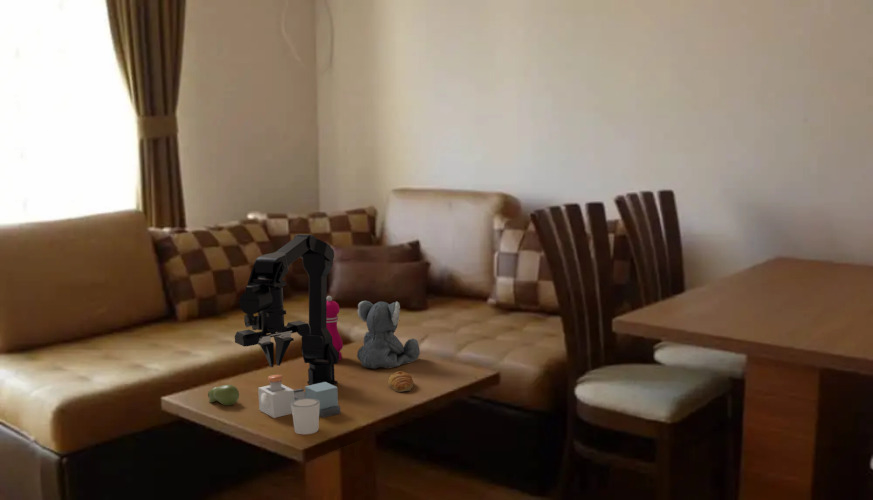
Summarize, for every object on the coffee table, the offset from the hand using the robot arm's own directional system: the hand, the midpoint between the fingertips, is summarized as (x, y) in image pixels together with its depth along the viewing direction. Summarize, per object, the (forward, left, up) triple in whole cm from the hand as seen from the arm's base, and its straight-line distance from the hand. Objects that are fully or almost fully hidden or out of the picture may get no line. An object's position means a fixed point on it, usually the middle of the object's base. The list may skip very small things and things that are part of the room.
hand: (274, 366), depth 227 cm
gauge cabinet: (0, 0, -12) cm, 12 cm away
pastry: (-36, +4, -12) cm, 38 cm away
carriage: (-9, +7, -12) cm, 17 cm away
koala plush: (-46, -19, -12) cm, 51 cm away
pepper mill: (-36, -33, -12) cm, 50 cm away
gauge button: (0, 0, -9) cm, 9 cm away
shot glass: (+1, +17, -12) cm, 21 cm away
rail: (-9, +2, -12) cm, 15 cm away
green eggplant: (+8, -16, -12) cm, 22 cm away
